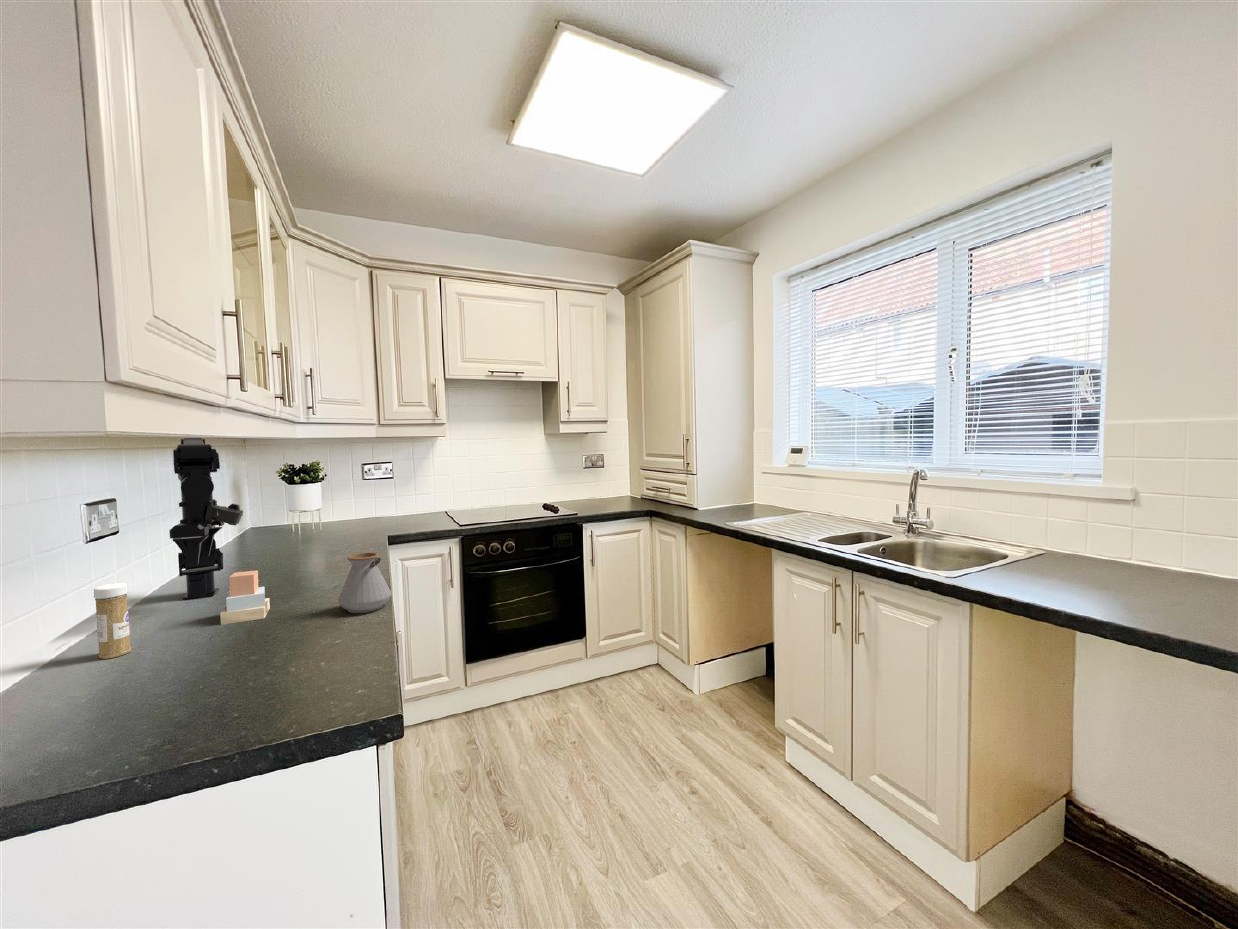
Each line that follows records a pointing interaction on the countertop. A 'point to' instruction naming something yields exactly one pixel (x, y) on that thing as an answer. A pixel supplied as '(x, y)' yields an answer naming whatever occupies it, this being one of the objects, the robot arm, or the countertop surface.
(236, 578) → the terracotta cube
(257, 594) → the grey-blue top slab
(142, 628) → the countertop surface
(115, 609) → the sprinkles bottle
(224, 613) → the oak base slab
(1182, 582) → the countertop surface
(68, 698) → the countertop surface
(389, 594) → the coffee pot
